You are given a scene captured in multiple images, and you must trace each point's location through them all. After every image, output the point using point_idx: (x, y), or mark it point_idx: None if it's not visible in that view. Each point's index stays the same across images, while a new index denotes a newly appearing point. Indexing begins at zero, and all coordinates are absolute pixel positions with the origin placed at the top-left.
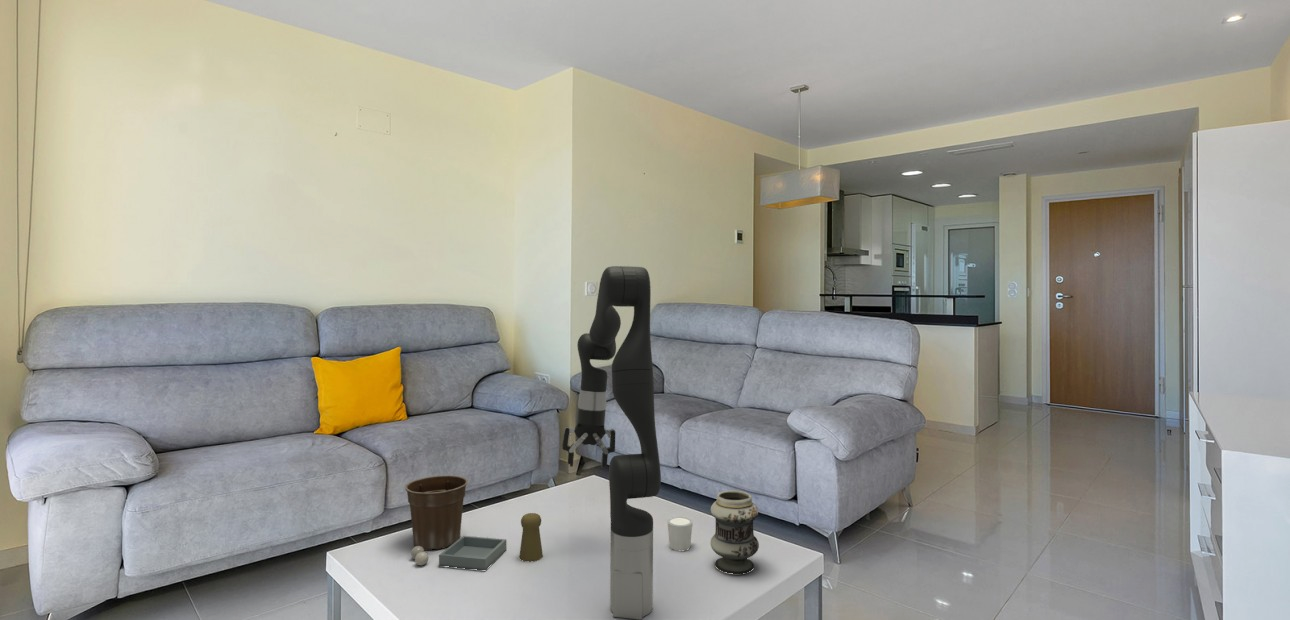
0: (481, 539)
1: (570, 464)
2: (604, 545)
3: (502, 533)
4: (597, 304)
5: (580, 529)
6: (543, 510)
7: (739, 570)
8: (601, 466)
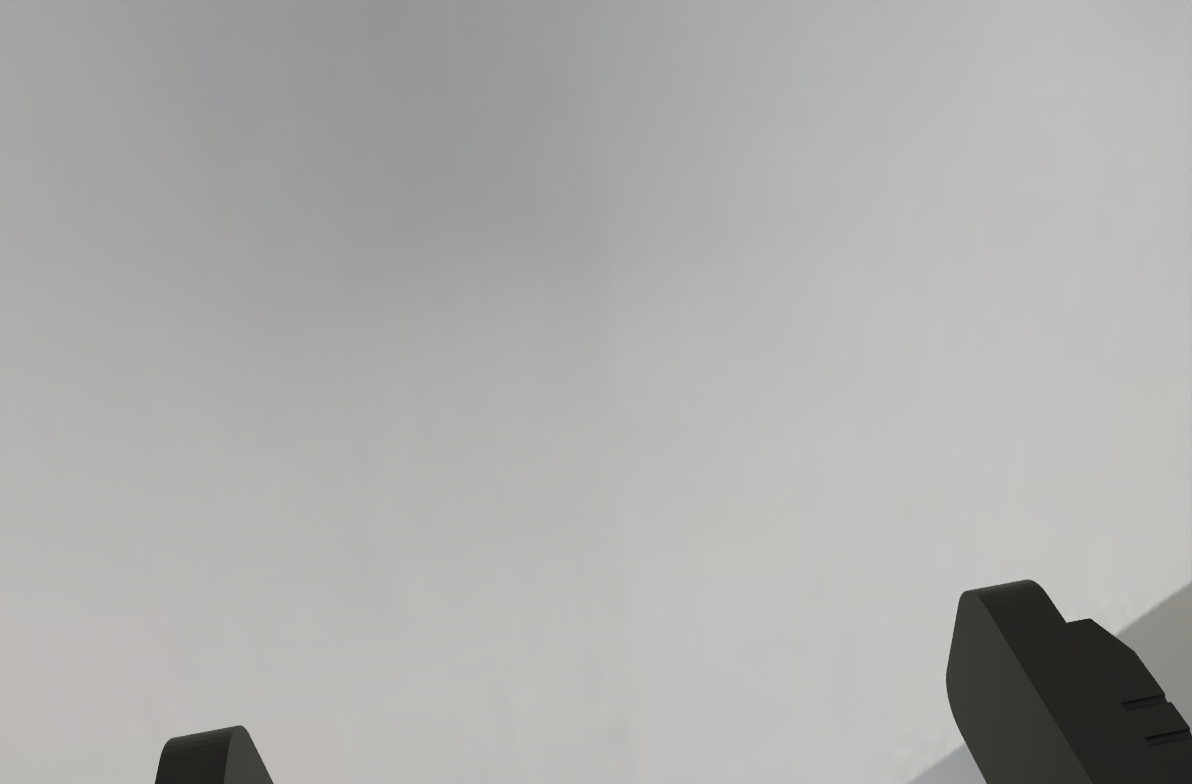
0: None
1: (1052, 607)
2: (237, 69)
3: (1098, 283)
4: None
5: (515, 398)
6: (797, 657)
7: None
8: (257, 774)
